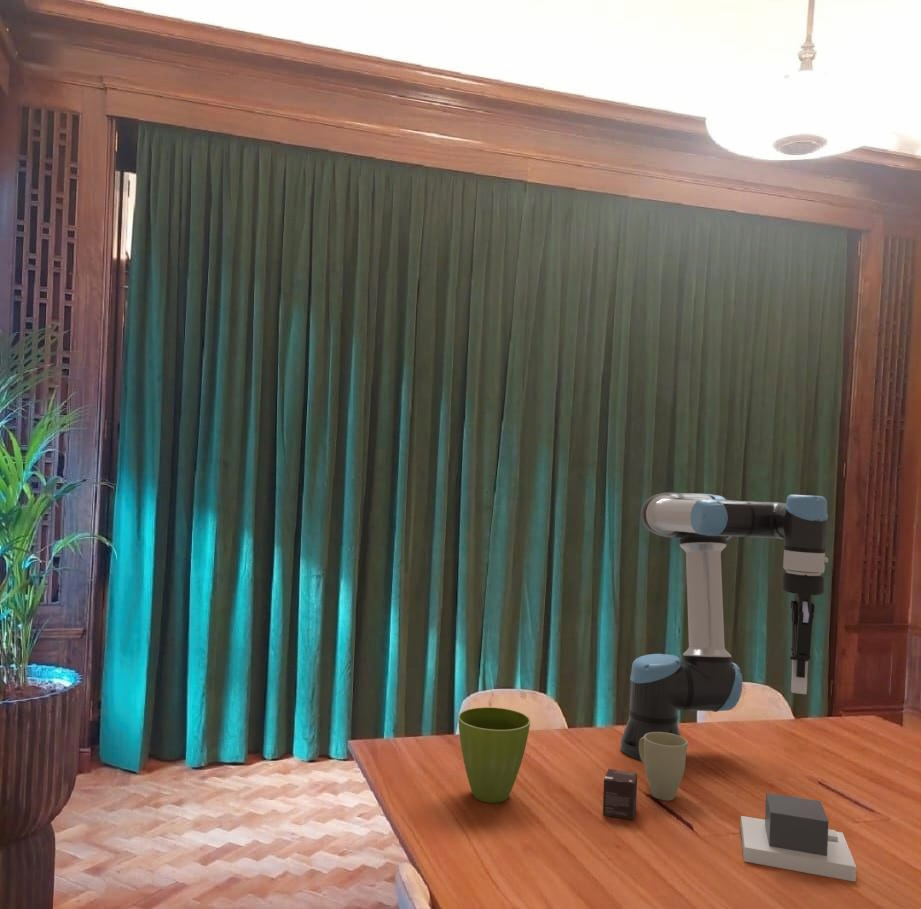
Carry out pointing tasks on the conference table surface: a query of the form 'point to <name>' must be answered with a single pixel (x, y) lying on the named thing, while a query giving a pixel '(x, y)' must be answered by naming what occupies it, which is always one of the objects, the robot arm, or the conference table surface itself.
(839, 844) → the socket
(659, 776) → the mug
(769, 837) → the plug
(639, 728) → the robot arm
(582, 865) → the conference table surface
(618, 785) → the box
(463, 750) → the flower pot
